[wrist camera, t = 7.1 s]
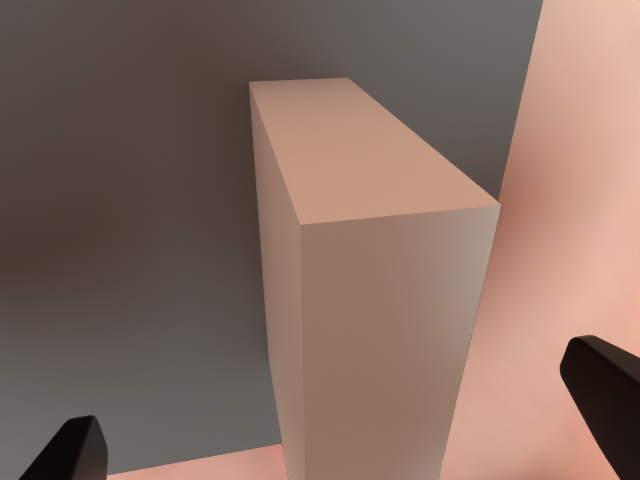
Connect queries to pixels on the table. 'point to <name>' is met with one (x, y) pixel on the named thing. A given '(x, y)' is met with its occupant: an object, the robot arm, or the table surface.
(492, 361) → the table surface
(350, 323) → the cream rectangular block
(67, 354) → the charcoal mat
